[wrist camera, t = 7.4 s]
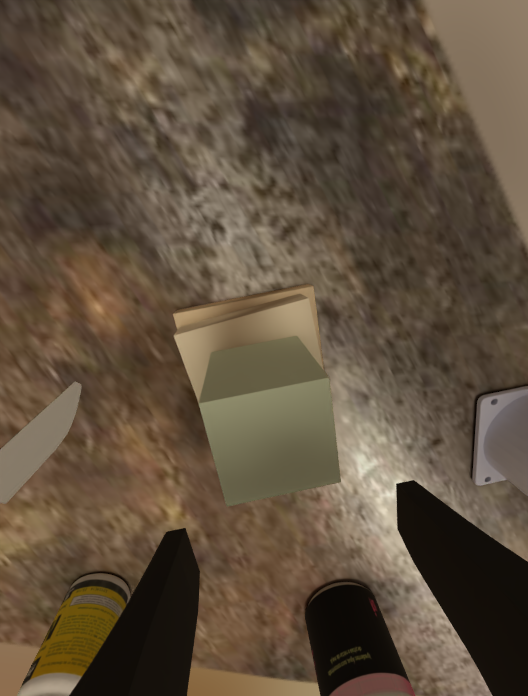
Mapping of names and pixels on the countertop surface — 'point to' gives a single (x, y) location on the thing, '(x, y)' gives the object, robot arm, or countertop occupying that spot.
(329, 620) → the beverage can
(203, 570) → the countertop surface
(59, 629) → the supplement bottle
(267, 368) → the green block
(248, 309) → the tan square tile
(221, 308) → the tower base
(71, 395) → the chef's knife
